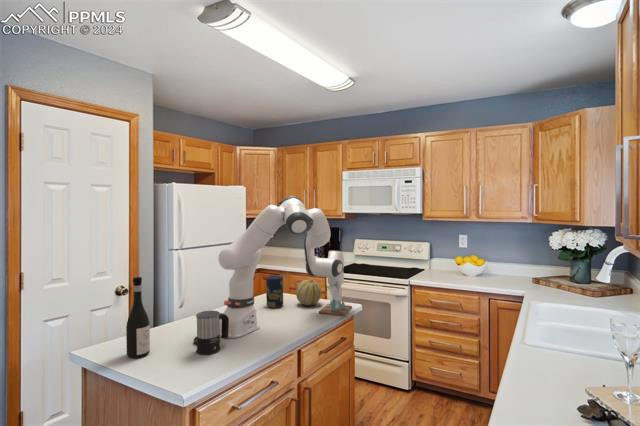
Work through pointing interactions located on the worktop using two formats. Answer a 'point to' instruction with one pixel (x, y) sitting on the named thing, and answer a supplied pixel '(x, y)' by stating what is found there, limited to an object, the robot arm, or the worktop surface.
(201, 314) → the milk frother
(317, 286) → the cantaloupe
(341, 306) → the teal frame with handle
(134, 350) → the wine bottle
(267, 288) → the canister
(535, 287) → the worktop surface
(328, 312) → the board
